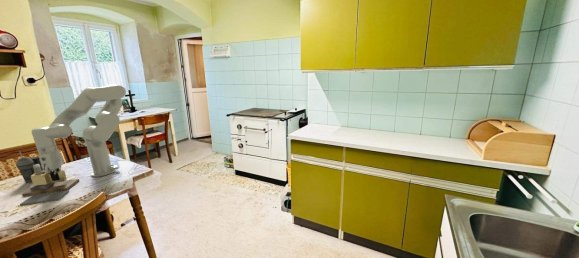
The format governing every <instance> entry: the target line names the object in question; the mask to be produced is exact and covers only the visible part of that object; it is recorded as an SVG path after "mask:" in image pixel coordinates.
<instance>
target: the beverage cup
mask: <svg viewBox="0 0 579 258" xmlns="http://www.w3.org/2000/svg"><path fill="white" fill-rule="evenodd" d="M18 152H19V155H20V157H21V158H19V159H18V160H17V161H16V163H15V165H16V167H17V169H18V170H19V173H20V175H21V176H22V178H23V180H24V182H25V183H26V184H33V182H32V179H31V175H33V174H35V171H34V168H33V165H34V162H33V160H32V159H31V158H32V157H27V156H26V157H25V156H23V154H22V152H21V150H19V151H18Z"/></svg>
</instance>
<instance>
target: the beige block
mask: <svg viewBox="0 0 579 258" xmlns="http://www.w3.org/2000/svg"><path fill="white" fill-rule="evenodd" d="M57 173H58V176H59V180H57V181H52V179H51V176H50V175H49V174H45V171H42V174H40V175H36V174H33V175H31V179H32V186H36V185H47V184H48V183H54V182H64V181H66V180H68V179H67V175H66V171H65V170H64V169H61V171H56V174H57Z"/></svg>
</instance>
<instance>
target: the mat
mask: <svg viewBox="0 0 579 258" xmlns="http://www.w3.org/2000/svg"><path fill="white" fill-rule="evenodd" d="M69 192H70V190H67V191H60V192H53V193H45V194H38V195H30V197H28V198H27V199H25V200H23V201H22V202H21V203H19V206H27V205H34V204H42V203H50V202H55V201H60V200H61V199H62V198H63V197H64V196H66V195H68V194H69Z"/></svg>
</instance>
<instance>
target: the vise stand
mask: <svg viewBox="0 0 579 258" xmlns="http://www.w3.org/2000/svg"><path fill="white" fill-rule="evenodd" d="M33 168H34V171H35V174H36V175H40V174H42V171H41V168H40V165H39V164H36V165H33ZM79 182H80V178H74V179H67V180H66V181H64V182H54V183H48V184H47V185H36V186H33V185H32V186H31V187H30V188H29V189H28V190H26V191H24V192H22V193H21V196H22V197H27V196H28V197H29V196H30V197H31V196H33V195H38V194H46V193H54V192H61V191H70V189H71V188H73V187H74V186H76V185H77V184H78V183H79Z"/></svg>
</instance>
